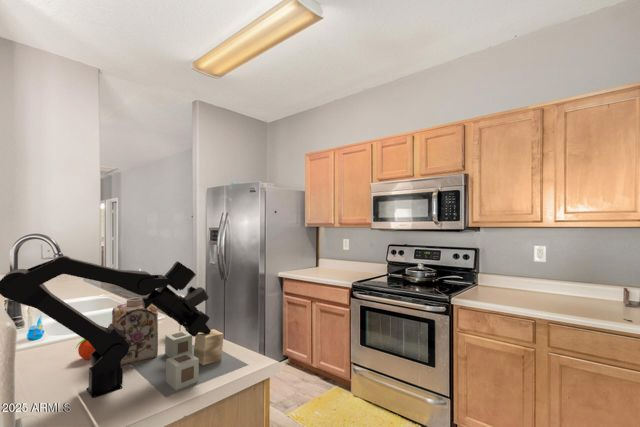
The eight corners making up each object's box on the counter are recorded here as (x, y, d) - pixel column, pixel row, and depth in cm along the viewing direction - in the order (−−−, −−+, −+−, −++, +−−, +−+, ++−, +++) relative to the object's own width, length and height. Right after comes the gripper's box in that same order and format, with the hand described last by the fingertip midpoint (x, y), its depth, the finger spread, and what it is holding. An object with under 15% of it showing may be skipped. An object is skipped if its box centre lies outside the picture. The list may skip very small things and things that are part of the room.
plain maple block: (203, 365, 94) (205, 337, 95) (193, 359, 98) (195, 332, 99) (221, 360, 98) (223, 333, 99) (211, 354, 103) (213, 329, 103)
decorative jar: (152, 346, 110) (152, 293, 110) (158, 356, 100) (158, 298, 101) (110, 355, 103) (111, 298, 103) (113, 367, 93) (114, 304, 94)
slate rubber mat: (166, 399, 78) (166, 397, 78) (129, 365, 95) (129, 363, 95) (248, 366, 96) (248, 364, 96) (205, 343, 113) (205, 341, 113)
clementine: (80, 367, 94) (81, 342, 94) (69, 361, 98) (69, 338, 98) (109, 357, 101) (110, 334, 101) (97, 352, 105) (98, 330, 105)
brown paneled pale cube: (173, 360, 98) (173, 339, 98) (165, 354, 103) (165, 334, 103) (192, 354, 103) (192, 334, 103) (183, 348, 107) (183, 330, 107)
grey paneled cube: (176, 390, 81) (176, 365, 81) (165, 381, 85) (166, 358, 85) (198, 381, 86) (199, 358, 86) (187, 373, 90) (188, 351, 90)
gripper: (201, 285, 88) (239, 317, 95) (181, 275, 103) (215, 303, 110) (171, 321, 83) (213, 351, 90) (154, 305, 98) (192, 332, 105)
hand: (209, 332), depth 99 cm, fingers closed, pressing on plain maple block
